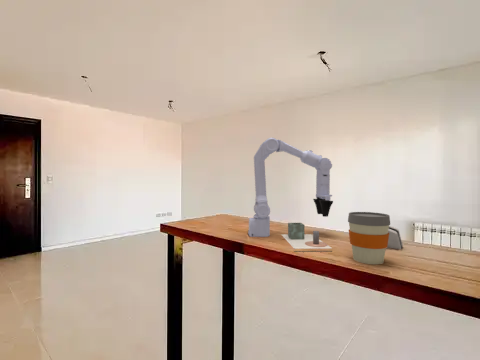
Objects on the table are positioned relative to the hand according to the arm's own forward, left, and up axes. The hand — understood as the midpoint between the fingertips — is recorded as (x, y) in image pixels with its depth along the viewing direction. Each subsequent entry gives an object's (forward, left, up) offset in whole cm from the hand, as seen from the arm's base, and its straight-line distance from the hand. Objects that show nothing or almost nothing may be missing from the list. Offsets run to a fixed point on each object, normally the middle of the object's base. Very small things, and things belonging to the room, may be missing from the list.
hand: (322, 215), depth 121 cm
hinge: (+18, -14, -10) cm, 25 cm away
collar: (-13, -6, -9) cm, 17 cm away
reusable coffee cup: (+4, -33, -10) cm, 35 cm away
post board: (-11, -11, -10) cm, 19 cm away
